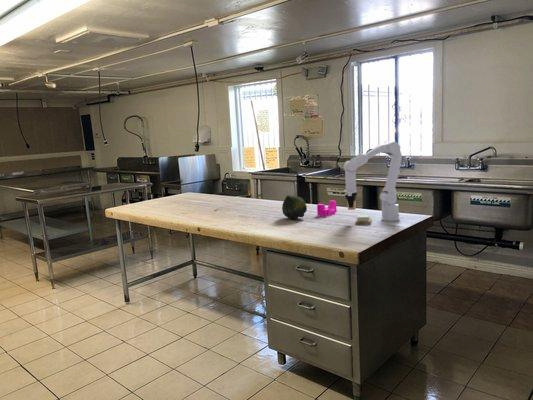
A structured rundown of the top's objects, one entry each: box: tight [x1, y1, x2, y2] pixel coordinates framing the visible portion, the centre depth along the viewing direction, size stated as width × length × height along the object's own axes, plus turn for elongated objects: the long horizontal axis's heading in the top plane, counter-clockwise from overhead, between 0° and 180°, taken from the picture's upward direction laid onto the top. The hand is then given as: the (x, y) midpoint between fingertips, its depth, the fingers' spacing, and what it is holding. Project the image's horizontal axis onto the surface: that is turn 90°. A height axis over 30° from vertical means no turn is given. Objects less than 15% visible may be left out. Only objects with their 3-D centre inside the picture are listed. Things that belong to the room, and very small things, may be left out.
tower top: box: [356, 214, 370, 221], centre depth 234 cm, size 6×6×2 cm
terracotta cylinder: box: [346, 200, 357, 211], centre depth 235 cm, size 4×4×4 cm
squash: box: [281, 195, 308, 221], centre depth 255 cm, size 14×15×15 cm
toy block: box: [316, 199, 337, 218], centre depth 262 cm, size 15×6×8 cm, turn 136°
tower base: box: [355, 218, 373, 226], centre depth 234 cm, size 8×8×2 cm
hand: (351, 206), depth 235 cm, fingers closed on terracotta cylinder, 4 cm apart
